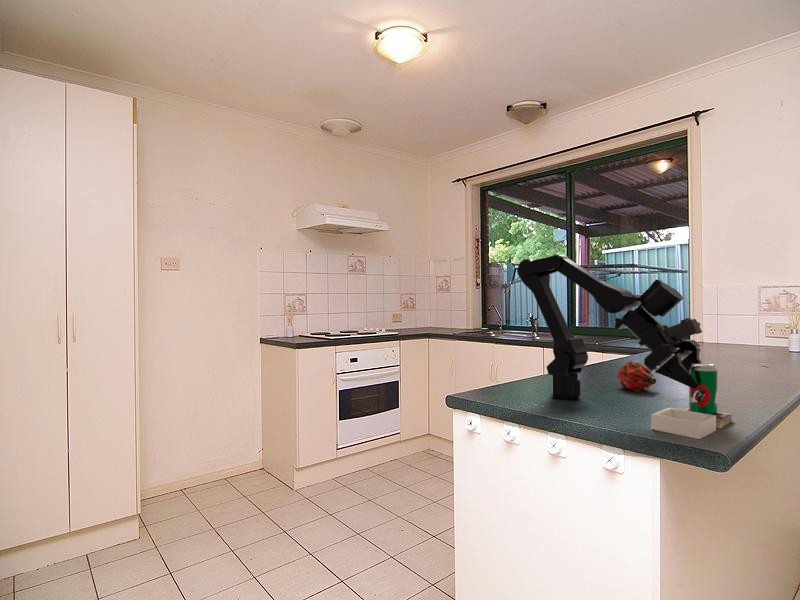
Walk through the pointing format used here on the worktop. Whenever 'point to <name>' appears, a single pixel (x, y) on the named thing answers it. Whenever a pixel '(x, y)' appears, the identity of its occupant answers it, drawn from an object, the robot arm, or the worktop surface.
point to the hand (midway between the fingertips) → (703, 384)
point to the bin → (683, 422)
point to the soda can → (704, 389)
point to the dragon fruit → (635, 376)
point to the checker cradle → (721, 419)
